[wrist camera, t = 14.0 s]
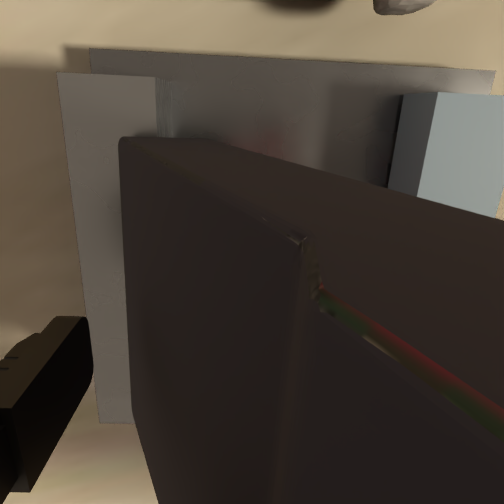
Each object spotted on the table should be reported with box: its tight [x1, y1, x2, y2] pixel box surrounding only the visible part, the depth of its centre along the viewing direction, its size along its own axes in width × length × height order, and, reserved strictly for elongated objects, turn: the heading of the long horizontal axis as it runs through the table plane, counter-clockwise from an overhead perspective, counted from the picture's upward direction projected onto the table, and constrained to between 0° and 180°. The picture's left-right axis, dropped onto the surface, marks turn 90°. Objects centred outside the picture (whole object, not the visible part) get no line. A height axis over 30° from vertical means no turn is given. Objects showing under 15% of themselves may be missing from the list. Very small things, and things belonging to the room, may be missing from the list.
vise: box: [56, 48, 496, 424], centre depth 17 cm, size 16×16×4 cm
